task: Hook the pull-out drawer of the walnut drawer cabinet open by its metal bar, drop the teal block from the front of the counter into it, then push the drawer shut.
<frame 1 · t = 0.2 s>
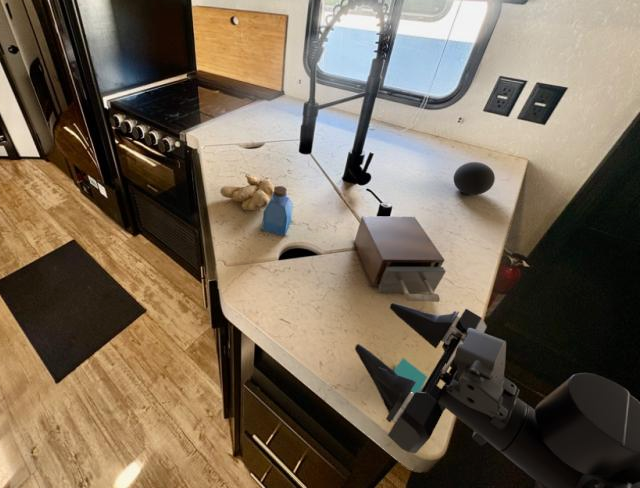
hand: (374, 324, 43), 17 cm above the worktop, tool horizontal, fingers open, 9 cm apart
drawer cabinet: (389, 262, 74), on the worktop
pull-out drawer: (403, 267, 67), point 4 cm above the worktop, slide at 1.0 cm
decorative ball: (466, 192, 97), on the worktop
ginger root: (254, 201, 93), on the worktop
teal block: (401, 387, 52), on the worktop
perfume bottle: (276, 226, 84), on the worktop
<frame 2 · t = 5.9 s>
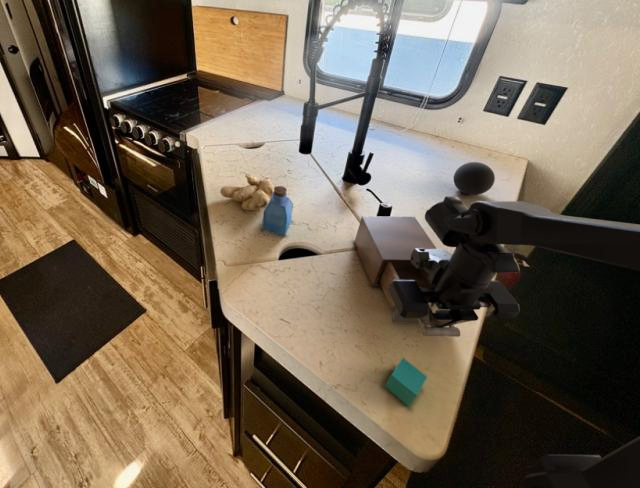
hand: (433, 326, 57), 4 cm above the worktop, tool pointing down, fingers closed
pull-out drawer: (418, 295, 61), point 4 cm above the worktop, slide at 7.9 cm
everything else where it was.
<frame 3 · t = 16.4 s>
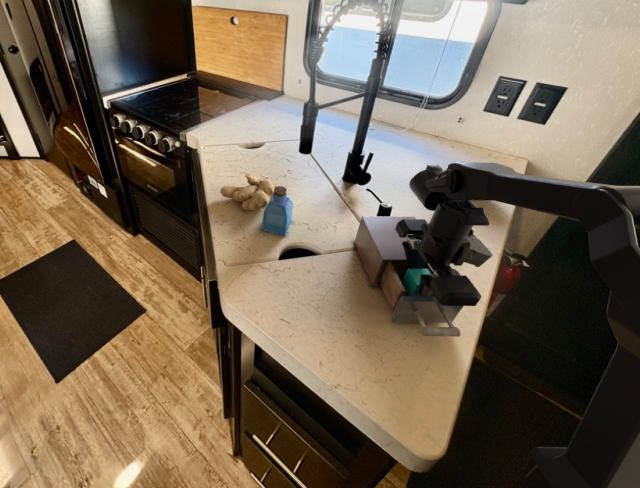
hand: (417, 286, 62), 5 cm above the worktop, tool pointing down, fingers closed on teal block, 4 cm apart
teal block: (415, 289, 62), point 4 cm above the worktop, touching gripper
everything else where it was.
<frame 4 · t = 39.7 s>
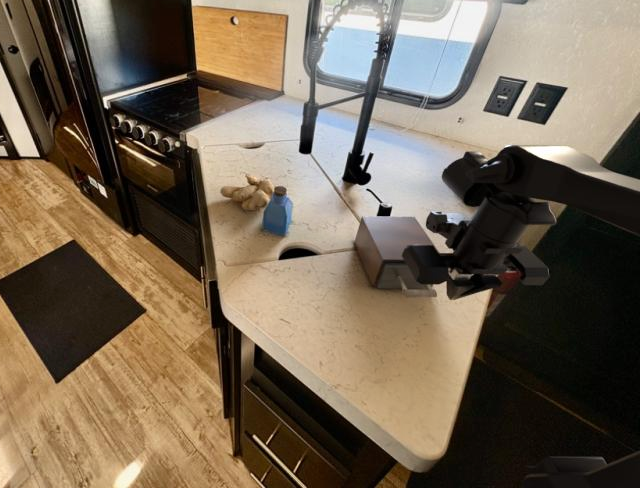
hand: (450, 297, 52), 12 cm above the worktop, tool pointing down, fingers closed
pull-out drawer: (401, 263, 68), point 4 cm above the worktop, slide at 0.0 cm, touching teal block, drawer cabinet
teal block: (396, 266, 70), point 2 cm above the worktop, touching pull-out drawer
everything else where it was.
at the end: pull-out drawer pulled out 7.9 cm at the most during the clip, back to where it started at the end; teal block inside the target area in the drawer cabinet (2.8 cm from its centre), point 2.0 cm above the drawer cabinet's base; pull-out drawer slide at 0.0 cm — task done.
